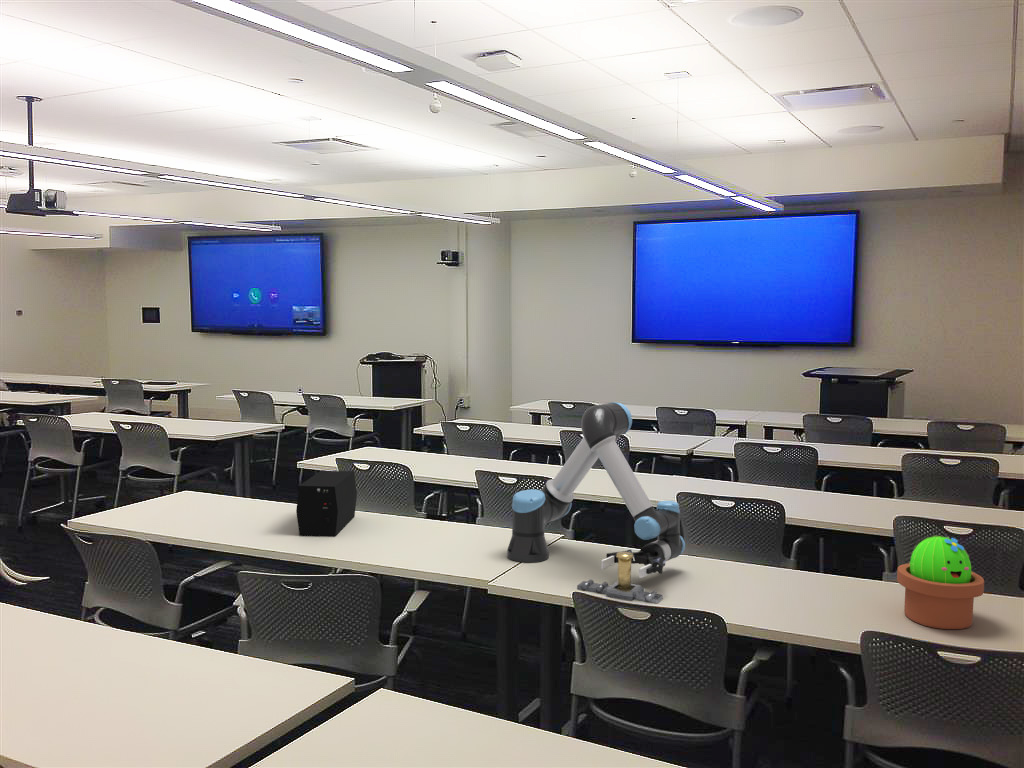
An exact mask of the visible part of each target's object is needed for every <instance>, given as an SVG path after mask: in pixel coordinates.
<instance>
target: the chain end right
mask: <svg viewBox="0 0 1024 768" xmlns="http://www.w3.org/2000/svg"><path fill="white" fill-rule="evenodd" d="M609 586H610V587H608V588H607V589H606V593H612V594H617V595H623V596H629V597H633V596H634V600H637V601H641V602H646V603H652V604H659V603H660V602H661V601H662V600H663V599H664V595H663V594H660V593H658V592H657V591H656V590H651V591H650V592H648V591H645V587H643V585H640V584H635V583H631V590H630V591H626V590H620V589H617V588H618V580H617V581H615V582H613V583H612V584H611V585H609Z"/></svg>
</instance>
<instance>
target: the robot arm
mask: <svg viewBox="0 0 1024 768" xmlns="http://www.w3.org/2000/svg"><path fill="white" fill-rule="evenodd" d="M580 423H581V424H580V425H581V427H580V428H581V431H582V435H583V437H582V438H581V440H580V442H579V443H578V445H576V447H575V449H574V450H573V451H572V453H571V455H570V456H569V457H568V459H567V460H566V461H565V463H564V464H563V466H562V467H561V468H560V470H559V471H558V473H557V474H556V475H555V477H554V478H553V479H548V480H547V481H546V482H545V484H544V485H543V487H542V488H541V489H533V488H532V489H527V490H525V489H524V490H520V491H517V492H516V493H514V494H513V496H512V503H511V509H512V511H511V516H512V517H511V524H512V525H511V526H512V527H511V531H512V532H511V537H510V540H509V543H508V547H507V549H506V552H507V553H506V557H507V558H508V559H509V560H511V561H514V562H519V563H539V562H543V561H546V560H548V559H549V557H550V550H549V547H548V543H547V540H546V536H545V524H547V523H550V522H553V521H557V520H560V519H562V518H564V517H565V516H566V515H567V514H569V512H570V510H571V508H572V505H573V503H572V501H573V500H574V493H575V490H577V488H578V486H579V485H580V483H581V482H582V481H583V479H584V478H585V477H586V476H587V474H588V472H589V471H590V470H591V469H592V467H593V466H594V464H595V463H596V462H597V461H598V459H599V460H600V462H601V464H602V466H603V467H604V469H605V471H606V473H607V474H608V476H609V478H610V480H611V481H612V482H613V483H612V484H613V485H614V487H615V488H616V490H617V491H618V493H619V495H620V496H621V499H622V501H623V502H624V503H625V506H626V507H627V510H629V513H630V514H631V516H632V518H633V520H634V525H633V527H634V534H635V535H636V536H637V537H638V538H639V539H641V540H644V541H646V540H647V541H648V540H653V539H656V538H657V540H655V541H652V542H649V543H647V544H645V545H643V546H642V547H641V548H640V550H637V551H633V550H632V549H628V550H623V551H621V552H630V553H633V559H631V565H635V564H638V565H644V566H642V567H640V568H638V578H639V579H641V578H644V577H647V576H648V575H651V574H656V573H657V574H660V575H661V574H663V571H664V570H663V569H664V567H665V566H666V562H668V561H670V560H672V559H676V558H678V557H679V556H681V555H682V554H683V553H684V551H685V550H686V542H685V539H684V538H683V536H681V532H680V531H681V529H680V526H681V524H680V521H681V520H680V519H681V517H680V515H681V512H680V504H679V503H678V501H674V500H660V501H658V502H657V504H656V509H655V508H654V505H653V504H652V502H651V500H650V499H649V497H648V495H647V494H646V492H645V490H644V488H643V487H642V485H641V484H640V482H639V480H638V477H637V476H636V475H635V473H634V471H633V469H632V468H631V466H630V464H629V462H628V460H627V459H626V457H625V456H624V454H623V452H622V450H621V449H620V447H619V445H618V444H617V440H618V439H619V438H620V436H623V435H625V434H626V433H628V432H629V431H630V430H631V427H632V424H633V417H632V413H631V410H629V408H628V407H627V405H625V404H623V403H620V402H613V401H611V402H607V403H602V404H596V405H595V404H594V405H592V406H590V407H588V408H587V409H586V410H585V411H584V413H583V414H582V418H581V421H580ZM618 552H619V551H616V552H615V551H614V552H607V553H606V555H605V556H606V558H604V559H601V560H600V564H601V565H600V569H601V570H604V569H607V568H609V567H611V566H613V565H615V564H618V558H617V557H616V555H617V553H618Z"/></svg>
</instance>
